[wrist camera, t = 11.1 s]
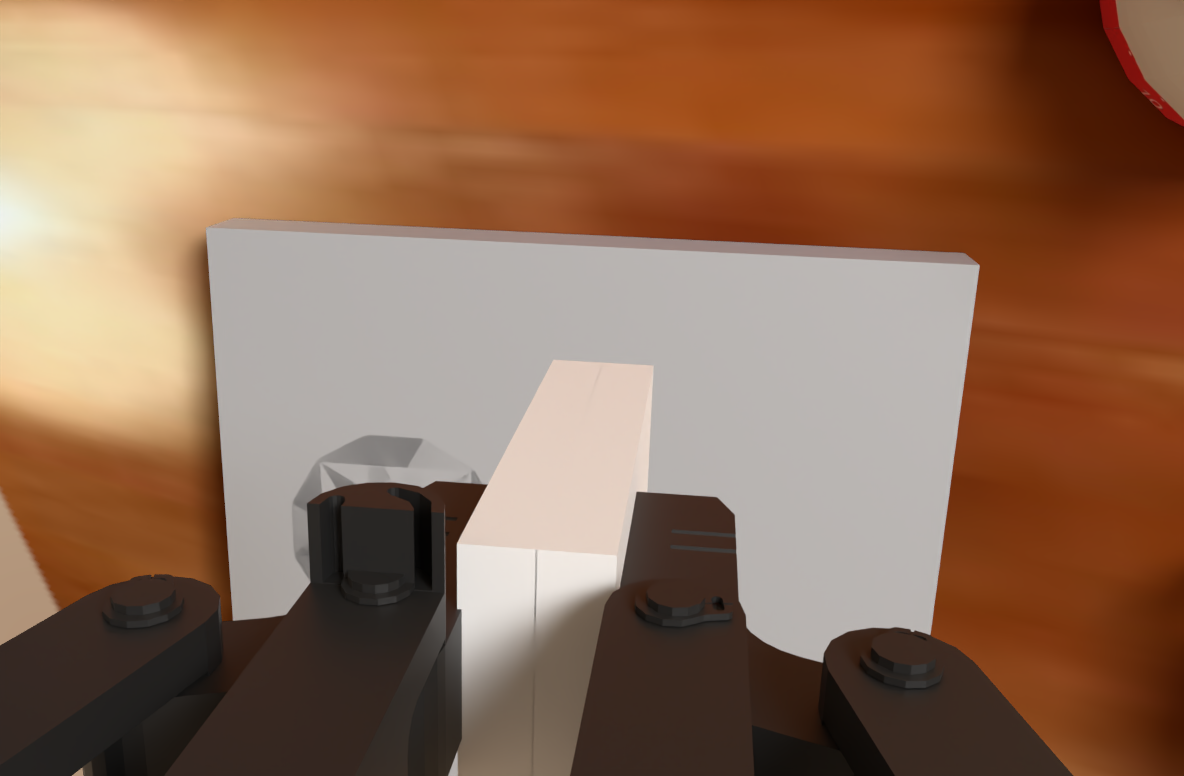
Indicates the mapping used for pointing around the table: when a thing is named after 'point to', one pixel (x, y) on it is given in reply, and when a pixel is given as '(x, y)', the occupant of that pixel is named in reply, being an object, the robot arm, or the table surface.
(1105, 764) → the table surface
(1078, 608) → the table surface
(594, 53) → the table surface
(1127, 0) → the kitchen timer
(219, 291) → the plate
